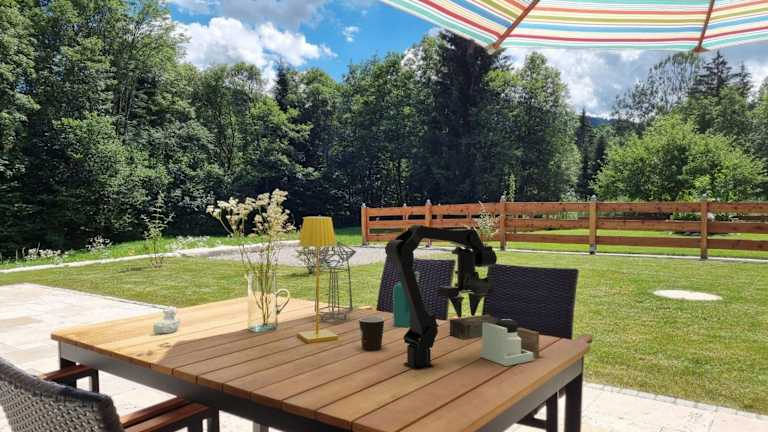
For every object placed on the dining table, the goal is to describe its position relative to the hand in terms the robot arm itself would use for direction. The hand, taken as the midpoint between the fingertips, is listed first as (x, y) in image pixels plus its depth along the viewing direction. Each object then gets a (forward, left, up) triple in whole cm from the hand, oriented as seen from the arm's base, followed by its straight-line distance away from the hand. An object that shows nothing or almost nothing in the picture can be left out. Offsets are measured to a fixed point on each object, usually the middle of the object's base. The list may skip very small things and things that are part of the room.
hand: (466, 316), depth 158 cm
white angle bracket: (+9, -9, -13) cm, 18 cm away
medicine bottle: (+10, -9, -13) cm, 18 cm away
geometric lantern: (-9, +71, -13) cm, 73 cm away
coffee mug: (-18, +27, -13) cm, 35 cm away
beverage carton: (+24, +20, -14) cm, 34 cm away
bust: (-71, +90, -13) cm, 115 cm away
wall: (+18, -9, -13) cm, 24 cm away
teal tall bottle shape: (+12, +47, -13) cm, 50 cm away
